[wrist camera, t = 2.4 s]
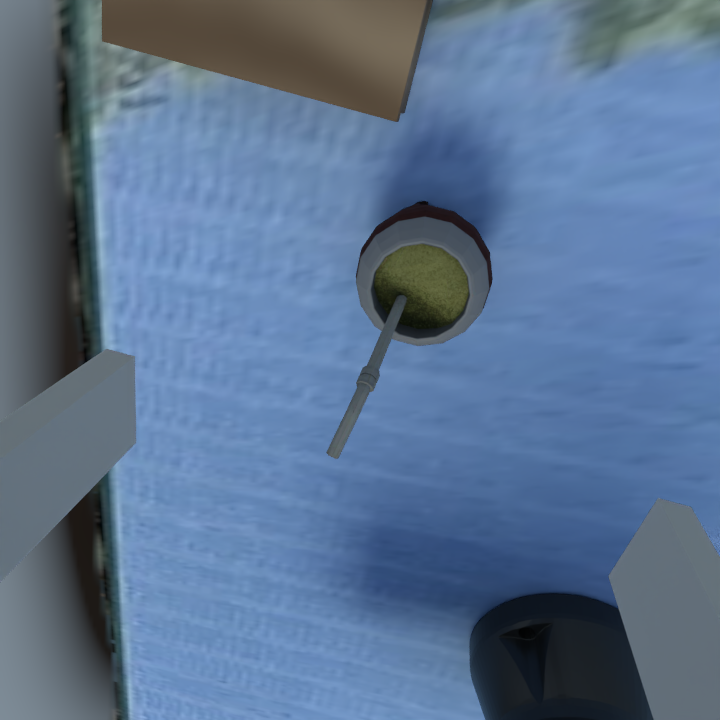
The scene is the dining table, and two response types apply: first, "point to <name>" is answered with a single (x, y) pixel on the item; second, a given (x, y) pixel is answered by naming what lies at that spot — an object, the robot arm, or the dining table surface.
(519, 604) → the robot arm
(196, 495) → the dining table surface
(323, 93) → the walnut box
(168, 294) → the dining table surface
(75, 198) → the dining table surface
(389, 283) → the mate gourd
